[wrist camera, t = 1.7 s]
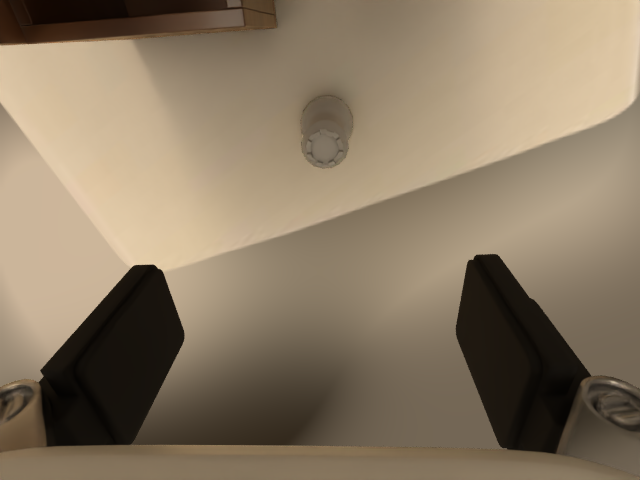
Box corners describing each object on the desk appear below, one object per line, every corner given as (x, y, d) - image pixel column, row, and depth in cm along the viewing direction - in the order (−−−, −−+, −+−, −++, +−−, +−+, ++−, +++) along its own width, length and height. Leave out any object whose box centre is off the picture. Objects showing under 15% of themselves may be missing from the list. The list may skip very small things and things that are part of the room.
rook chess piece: (346, 87, 29) (349, 106, 22) (358, 140, 31) (364, 172, 24) (294, 103, 29) (281, 125, 22) (309, 153, 31) (302, 188, 25)
